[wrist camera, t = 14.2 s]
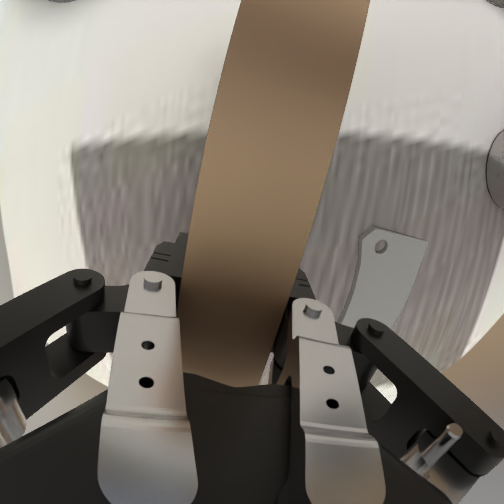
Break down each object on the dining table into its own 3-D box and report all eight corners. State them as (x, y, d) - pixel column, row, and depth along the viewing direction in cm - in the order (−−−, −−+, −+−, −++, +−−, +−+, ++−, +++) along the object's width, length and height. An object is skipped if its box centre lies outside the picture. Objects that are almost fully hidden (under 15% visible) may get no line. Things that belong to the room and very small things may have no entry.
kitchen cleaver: (346, 412, 38) (275, 408, 35) (344, 406, 38) (274, 402, 36) (446, 247, 29) (371, 218, 26) (441, 243, 30) (366, 214, 27)
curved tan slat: (252, -2, 10) (264, -71, 5) (321, 16, 11) (376, -37, 5) (174, 396, 19) (162, 476, 13) (220, 403, 19) (219, 483, 14)
